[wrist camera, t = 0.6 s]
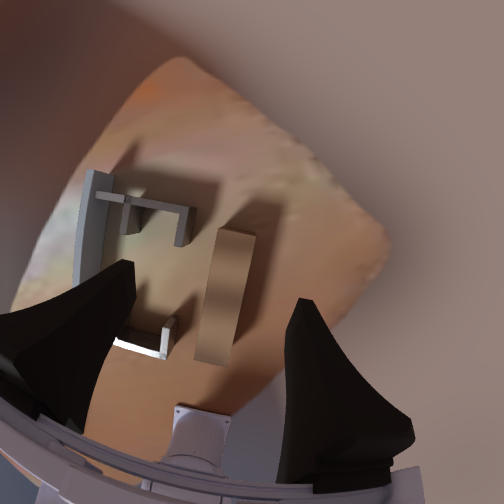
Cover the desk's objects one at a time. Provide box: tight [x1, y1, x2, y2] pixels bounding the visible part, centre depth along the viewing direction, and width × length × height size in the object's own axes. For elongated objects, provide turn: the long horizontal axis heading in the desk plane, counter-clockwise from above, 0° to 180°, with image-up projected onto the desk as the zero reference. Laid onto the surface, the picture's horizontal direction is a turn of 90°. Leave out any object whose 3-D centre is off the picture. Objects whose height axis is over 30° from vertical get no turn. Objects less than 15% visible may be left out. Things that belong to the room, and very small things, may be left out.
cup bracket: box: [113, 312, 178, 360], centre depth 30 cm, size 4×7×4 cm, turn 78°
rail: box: [194, 226, 256, 367], centre depth 29 cm, size 14×4×5 cm, turn 168°
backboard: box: [72, 169, 127, 288], centre depth 28 cm, size 21×5×5 cm, turn 168°
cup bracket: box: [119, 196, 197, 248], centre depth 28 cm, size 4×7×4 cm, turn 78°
